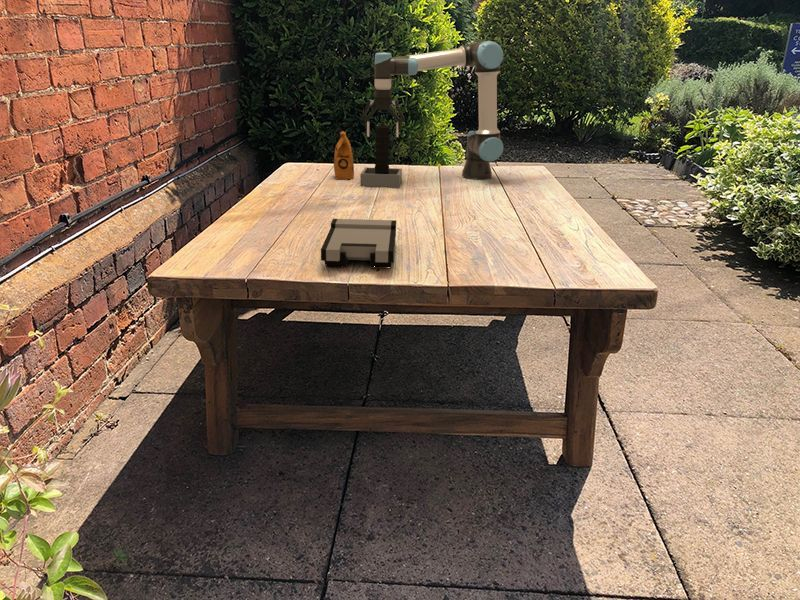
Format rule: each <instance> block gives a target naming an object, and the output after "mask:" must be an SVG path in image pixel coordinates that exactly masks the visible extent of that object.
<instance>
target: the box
mask: <svg viewBox="0 0 800 600" xmlns="http://www.w3.org/2000/svg"><path fill="white" fill-rule="evenodd" d="M359 175H360V186H365V187H364V188H381V187H387V188H388V189H400V187H401V184H402V182H403V168H397V167H395V168H390V167H389V174H375V167H364V168H363V170H362V171H361V172H360V173H359Z"/></svg>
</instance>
